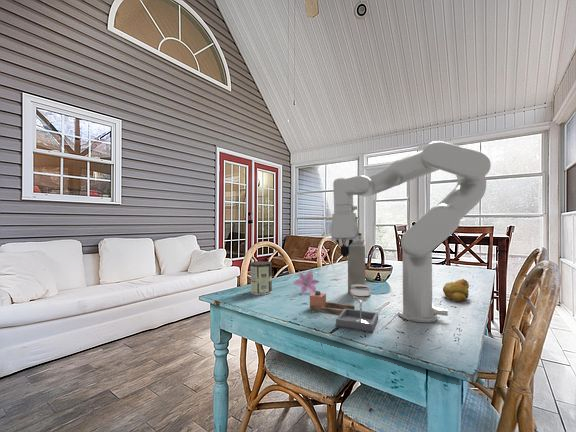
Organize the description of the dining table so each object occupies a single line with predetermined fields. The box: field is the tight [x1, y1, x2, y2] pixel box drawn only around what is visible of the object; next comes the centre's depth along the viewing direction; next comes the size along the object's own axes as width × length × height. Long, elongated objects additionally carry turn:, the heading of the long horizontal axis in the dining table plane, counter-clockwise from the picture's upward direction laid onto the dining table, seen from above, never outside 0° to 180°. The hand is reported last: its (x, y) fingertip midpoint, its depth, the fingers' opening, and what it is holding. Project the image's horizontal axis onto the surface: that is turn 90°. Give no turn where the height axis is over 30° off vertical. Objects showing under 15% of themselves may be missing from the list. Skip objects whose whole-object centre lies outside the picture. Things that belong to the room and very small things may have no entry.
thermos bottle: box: [347, 232, 367, 295], centre depth 131 cm, size 8×8×28 cm
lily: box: [292, 269, 320, 295], centre depth 134 cm, size 12×12×10 cm
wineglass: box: [350, 283, 372, 323], centre depth 94 cm, size 7×7×12 cm
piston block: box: [309, 290, 327, 309], centre depth 111 cm, size 5×5×6 cm
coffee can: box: [249, 260, 273, 296], centre depth 135 cm, size 10×10×14 cm
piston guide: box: [310, 301, 356, 315], centre depth 107 cm, size 15×10×2 cm
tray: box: [335, 309, 379, 334], centre depth 94 cm, size 12×12×2 cm
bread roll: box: [442, 278, 470, 302], centre depth 121 cm, size 13×10×8 cm
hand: (345, 256), depth 111 cm, fingers closed
